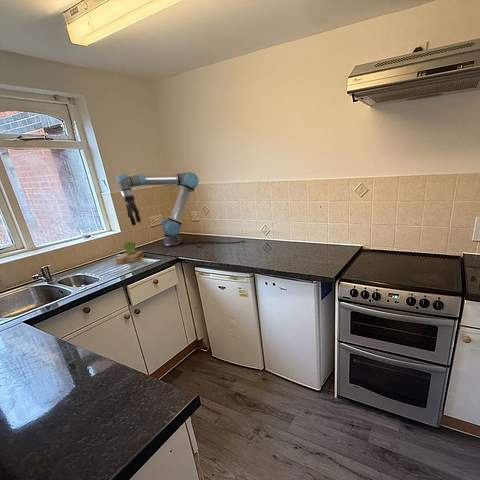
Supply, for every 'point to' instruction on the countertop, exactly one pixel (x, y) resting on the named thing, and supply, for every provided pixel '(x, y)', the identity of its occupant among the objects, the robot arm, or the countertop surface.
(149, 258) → the countertop surface
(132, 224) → the robot arm
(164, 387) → the countertop surface
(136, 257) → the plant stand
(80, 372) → the countertop surface
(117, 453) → the countertop surface
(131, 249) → the plant pot
